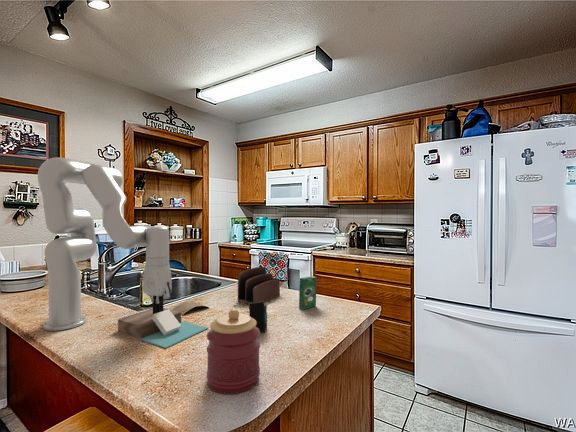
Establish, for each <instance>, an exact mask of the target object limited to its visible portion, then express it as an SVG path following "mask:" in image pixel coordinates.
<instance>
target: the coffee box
mask: <svg viewBox="0 0 576 432" xmlns="http://www.w3.org/2000/svg"><path fill="white" fill-rule="evenodd" d="M298 297H299V298H298V308H299V309H300V310H307V309H309V308H314V307H316V306H317V277H316V276H306V277H301V278H300V277H299V293H298Z"/></svg>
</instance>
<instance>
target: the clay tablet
mask: <svg viewBox="0 0 576 432" xmlns="http://www.w3.org/2000/svg"><path fill="white" fill-rule="evenodd" d="M195 307H204V305H203V304H201V303H199V302H196V301H184V302H181V303H178V304H177V305H175V306H174V307H173V308H172V309H171V310H174V311H178V312H181V316H184V314H185V313H187V312H189V311H190V310H192V309H194V308H195ZM207 308H208V309H210V307H208V306H207Z"/></svg>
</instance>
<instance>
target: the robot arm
mask: <svg viewBox="0 0 576 432" xmlns="http://www.w3.org/2000/svg"><path fill="white" fill-rule="evenodd" d="M37 182H38V183H37V184H38V186H39V189H40V192H41V197H42V204H43V213H44V219H45V226H46V229H47V230H48V231H49V232H50V233H52V234H55V235H64V234H67V235H68V234H70V235H71V236H64V237H59V238H55V239H52V240H51V241H49V242H48V243H47V244H46V246H45V248H44V252H43V253H44V259H45V263H46V266H47V277H48V278H47V279H48V281H47V282H48V321H46V322H45V323H43V330H45V331H49V332H50V331H52V332H53V331H54V332H55V331H56V332H57V331H64V330H68V329H74V328H77V327H79V326H82V325H83V324H85V323H86V322H87V316H84V315H82V284H81V283H82V279H81V278H82V274H81V270H80V268H79V266H78V265H77V262H81V261H85V260H89V259H90V258H93V256H95V254H96V252H97V238H96V237H97V236H96V230H95V223H94V218H93V217H92V214H91V213H90V211H88V210H86V209H84V208H81V207H74V202H73V196H72V194H71V191H70V190H69V188H68V187H67V185H66V183H70V184H77V185H78V184H79V185H86V187H87V189H88V190H89V191H90V193H91V194H92V196H93V197H94V199H95V200H96V201H97V203H98V205H99V206H100V207H101V209H102V213H101V214H102V215H101V216H102V224H103V225H102V226H103V228H104V230H105V232H106V233H107V235H108V236H109V238H110V239H111V240H112V242H114V244H115V245H116V246H117V247H118V248H121V249H124V250H130V249H134V248H139V247H144V246H145V266H144V269H143V276H142V277H143V278H142V291H143V293H144V294H146V295H147V296H148V297H149V298H150V302H151V303H152V308H153V314H156V313H159V312H162V311H163V308H164V303H165V302H166V300H168V299H170V297H171V295H170V294H171V293H172V289H173V287H172V286H173V285H172V284H173V283H172V281H173V280H172V279H173V278H172V271H171V267H170V266H171V265H170V230H169V228H168V227H167V226H162V225H161V226H160V225H159V226H150V225H149V226H148V225H129V223H128V222H127V221H126V219H125V218H124V216H123V214H122V209H121V208H122V207H123V206H124V205H125V204H126V202H127V196H126V195H125V193H124V192H123V190H122V189H121V187H122V184H123V182H124V179H123V175H122V173H121V172H120V171H119V170H118V169H117V168H115V167H111V166H106V165H101V164H94V163H90V162H85V161H82V160H76V159H71V158H66V157H52V158H51V157H50V158H48V159H47V160H44V162H43V163H41V165H40V166H39V168H38V172H37Z"/></svg>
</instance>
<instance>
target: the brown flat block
mask: <svg viewBox="0 0 576 432" xmlns="http://www.w3.org/2000/svg"><path fill="white" fill-rule="evenodd" d="M168 309H169V308H164V307H163V311H165V310H168ZM169 310H170V311H171V313H172V314H173V315H174V317H175V318H176V319H177V321H178V322H179V323H181V322H182V315H181V312H178V311H174V310H172V309H169ZM153 315H154V314H153V307H152V308H149V309H147V310H146V309H145V310H143V311H140V312H136V313H133V314H130V315H127V316H125V317H121V318H118V319H117V331H118V332H121V333H122V334H123V333H124V334H127V335H129V336H133V337H136V338H138V339H142V338H144V337H147V336H149V335H152V334H154V333H157V332H159V331H161V330H160V329H159V328H158V326H157V325H156V323H155V322H154V321H153V319H152V317H153Z"/></svg>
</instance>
